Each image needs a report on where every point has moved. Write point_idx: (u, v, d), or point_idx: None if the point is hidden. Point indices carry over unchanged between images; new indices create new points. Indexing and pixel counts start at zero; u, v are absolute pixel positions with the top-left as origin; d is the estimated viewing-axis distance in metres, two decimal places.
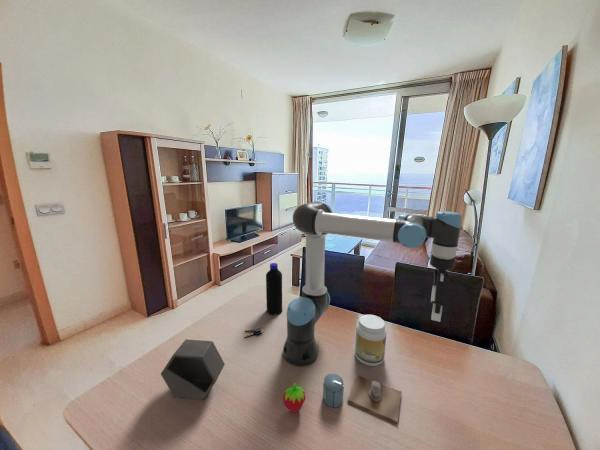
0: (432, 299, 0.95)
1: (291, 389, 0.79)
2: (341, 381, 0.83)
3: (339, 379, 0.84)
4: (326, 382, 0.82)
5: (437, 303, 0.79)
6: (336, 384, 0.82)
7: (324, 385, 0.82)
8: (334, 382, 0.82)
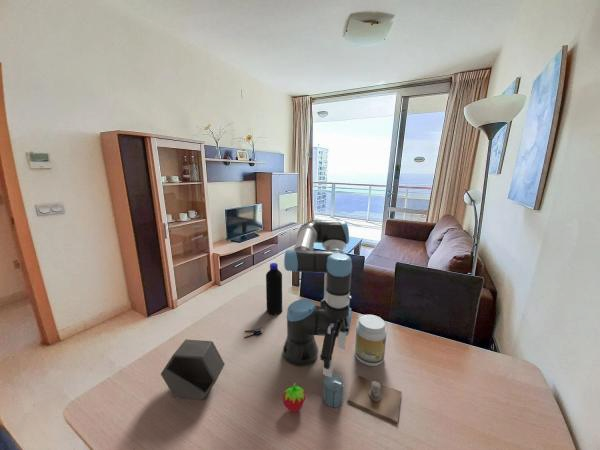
0: (338, 345, 0.87)
1: (291, 389, 0.79)
2: (341, 381, 0.83)
3: (339, 379, 0.84)
4: (326, 382, 0.82)
5: (322, 359, 0.71)
6: (336, 384, 0.82)
7: (324, 385, 0.82)
8: (334, 382, 0.82)
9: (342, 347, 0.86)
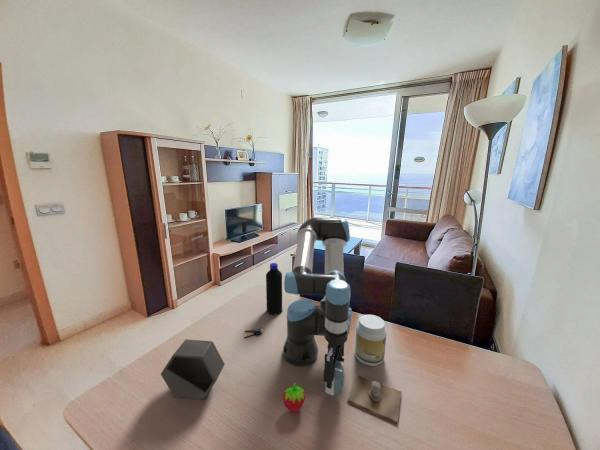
0: None
1: (291, 389, 0.79)
2: (342, 368, 0.83)
3: (339, 366, 0.83)
4: None
5: (325, 380, 0.76)
6: (336, 371, 0.81)
7: None
8: None
9: None
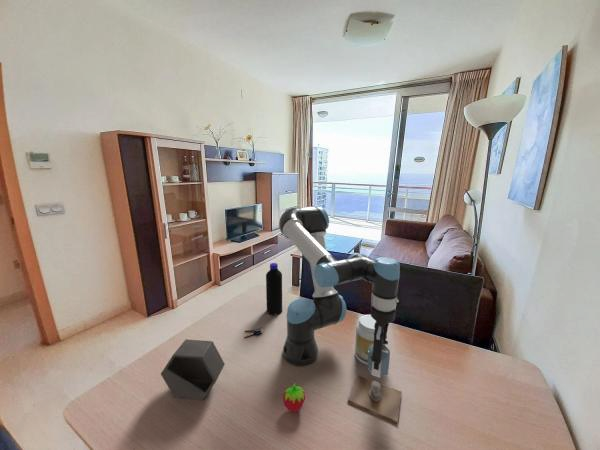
0: None
1: (291, 389, 0.79)
2: (387, 350, 0.81)
3: (385, 348, 0.81)
4: (372, 351, 0.80)
5: (374, 360, 0.75)
6: (383, 352, 0.79)
7: (370, 354, 0.80)
8: None
9: None
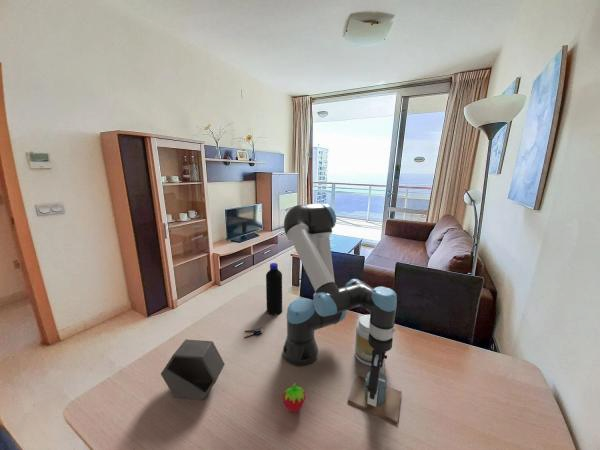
0: None
1: (291, 389, 0.79)
2: (384, 378, 0.83)
3: (382, 376, 0.84)
4: None
5: (369, 391, 0.74)
6: (380, 381, 0.82)
7: (367, 382, 0.83)
8: None
9: None
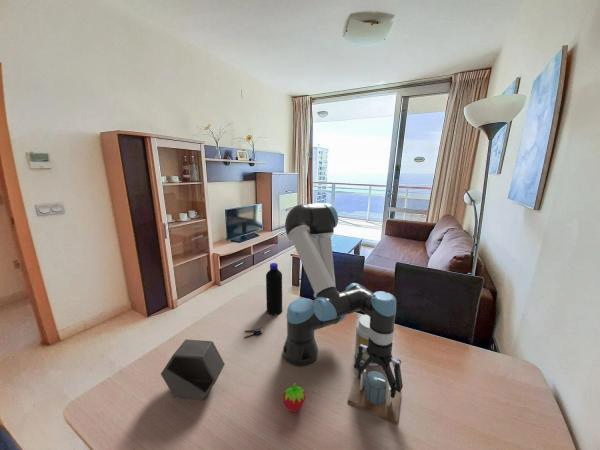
0: (362, 387, 0.86)
1: (291, 389, 0.79)
2: (384, 378, 0.83)
3: (382, 376, 0.84)
4: (369, 379, 0.83)
5: (401, 389, 0.78)
6: (380, 381, 0.82)
7: (367, 382, 0.83)
8: (377, 379, 0.83)
9: (364, 385, 0.88)
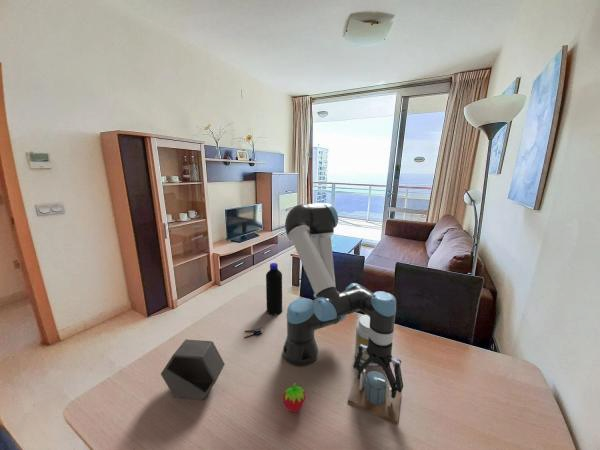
0: (362, 386, 0.86)
1: (291, 389, 0.79)
2: (384, 378, 0.83)
3: (382, 376, 0.84)
4: (369, 379, 0.83)
5: (401, 389, 0.77)
6: (380, 381, 0.82)
7: (367, 382, 0.83)
8: (377, 379, 0.83)
9: (363, 385, 0.88)
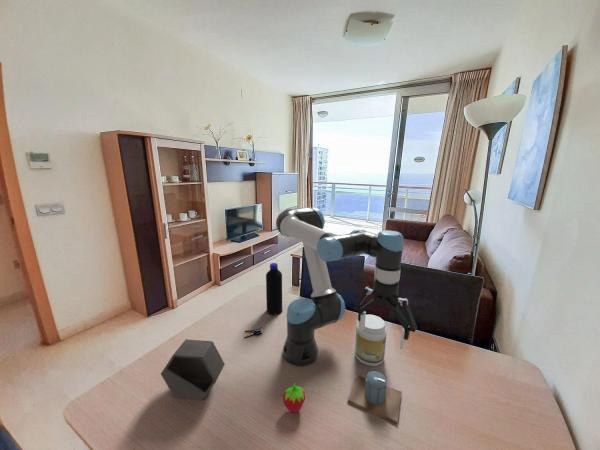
0: (362, 328, 0.85)
1: (291, 389, 0.79)
2: (384, 378, 0.83)
3: (382, 376, 0.84)
4: (369, 379, 0.83)
5: (415, 329, 0.74)
6: (380, 381, 0.82)
7: (367, 382, 0.83)
8: (377, 379, 0.83)
9: (363, 327, 0.86)
